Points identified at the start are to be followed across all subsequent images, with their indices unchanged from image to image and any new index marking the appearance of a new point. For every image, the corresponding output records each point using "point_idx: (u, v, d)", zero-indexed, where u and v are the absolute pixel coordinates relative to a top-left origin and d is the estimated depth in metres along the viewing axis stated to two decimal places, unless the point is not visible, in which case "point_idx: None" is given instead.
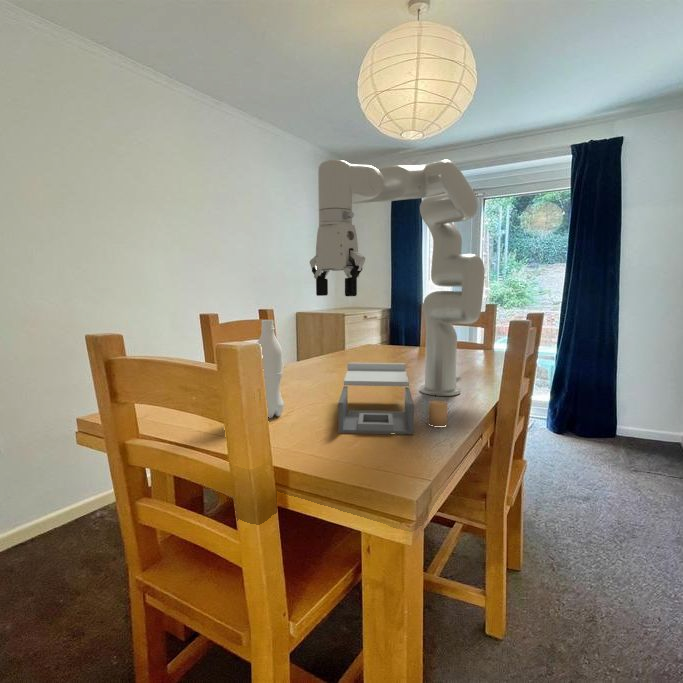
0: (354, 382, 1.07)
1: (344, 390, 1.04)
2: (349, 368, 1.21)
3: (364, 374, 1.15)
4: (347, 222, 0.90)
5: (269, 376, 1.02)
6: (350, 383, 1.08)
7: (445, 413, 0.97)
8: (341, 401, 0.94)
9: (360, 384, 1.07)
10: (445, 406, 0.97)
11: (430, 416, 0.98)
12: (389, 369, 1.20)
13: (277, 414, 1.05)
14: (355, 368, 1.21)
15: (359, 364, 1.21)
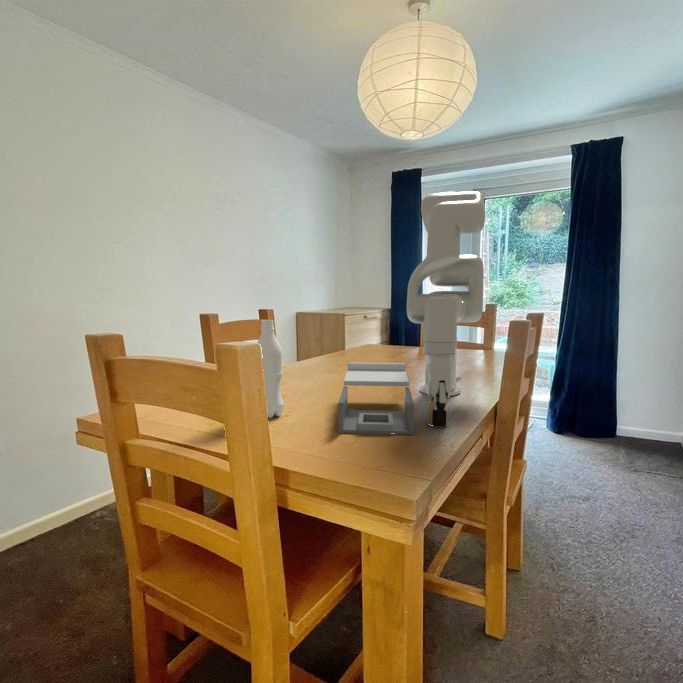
0: (354, 382, 1.07)
1: (344, 390, 1.04)
2: (349, 368, 1.21)
3: (364, 374, 1.15)
4: None
5: (269, 376, 1.02)
6: (350, 383, 1.08)
7: None
8: (341, 401, 0.94)
9: (360, 384, 1.07)
10: None
11: (430, 416, 0.98)
12: (389, 369, 1.20)
13: (277, 414, 1.05)
14: (355, 368, 1.21)
15: (359, 364, 1.21)
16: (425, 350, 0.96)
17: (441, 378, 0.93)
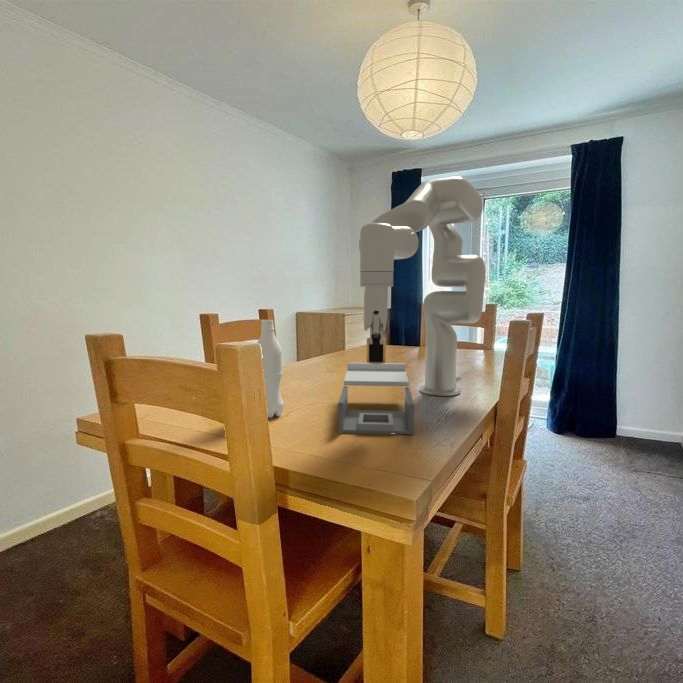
0: (354, 382, 1.07)
1: (344, 390, 1.04)
2: (349, 368, 1.21)
3: (364, 374, 1.15)
4: None
5: (269, 376, 1.02)
6: (350, 383, 1.08)
7: (383, 348, 0.93)
8: (341, 401, 0.94)
9: (360, 384, 1.07)
10: (382, 341, 0.93)
11: (367, 352, 0.94)
12: (389, 369, 1.20)
13: (277, 414, 1.05)
14: (355, 368, 1.21)
15: (359, 364, 1.21)
16: (361, 281, 0.92)
17: (375, 308, 0.88)
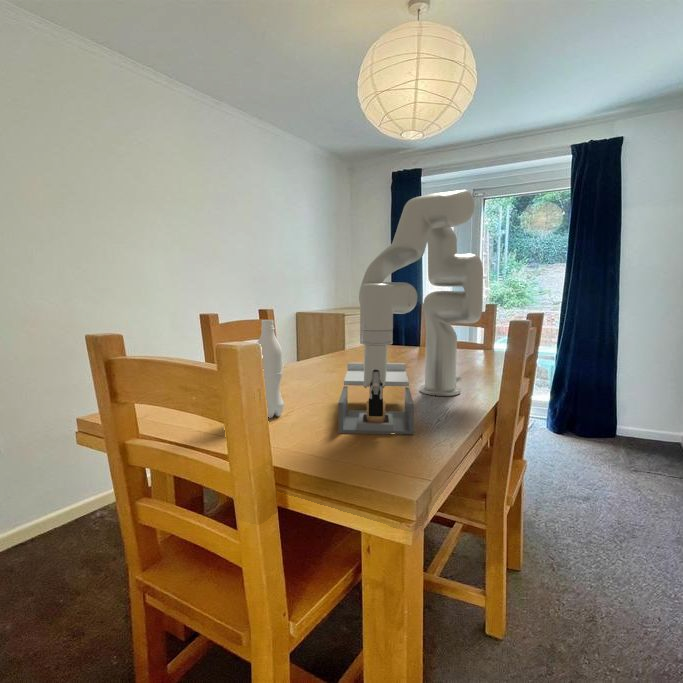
0: (354, 382, 1.07)
1: (344, 390, 1.04)
2: (349, 368, 1.21)
3: None
4: None
5: (269, 376, 1.02)
6: (350, 383, 1.08)
7: None
8: (341, 401, 0.94)
9: (360, 384, 1.07)
10: None
11: (367, 416, 0.96)
12: (389, 369, 1.20)
13: (277, 414, 1.05)
14: (355, 368, 1.21)
15: (359, 364, 1.21)
16: (361, 339, 0.93)
17: (375, 367, 0.90)
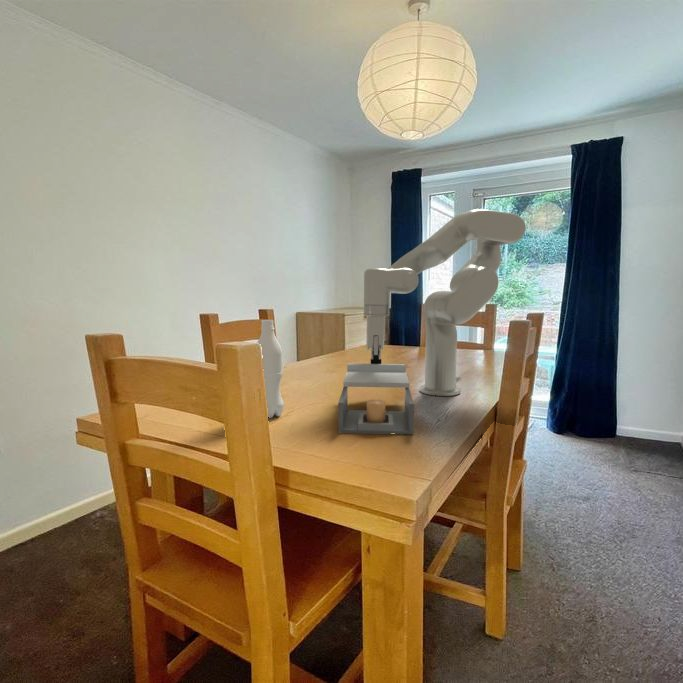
0: (354, 383, 1.06)
1: (344, 390, 1.04)
2: (349, 369, 1.20)
3: (364, 375, 1.14)
4: None
5: (269, 376, 1.02)
6: (350, 384, 1.06)
7: (383, 413, 0.95)
8: (341, 401, 0.94)
9: (360, 385, 1.06)
10: (382, 406, 0.95)
11: (368, 416, 0.96)
12: (389, 370, 1.19)
13: (277, 414, 1.05)
14: (355, 369, 1.20)
15: (359, 365, 1.19)
16: (364, 312, 1.19)
17: (375, 333, 1.16)
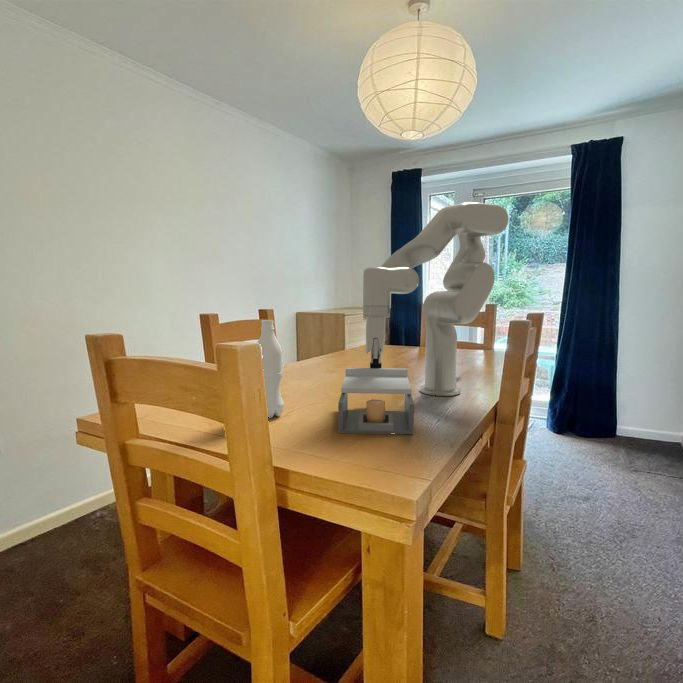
0: (352, 389, 1.00)
1: None
2: (347, 374, 1.14)
3: (363, 380, 1.08)
4: None
5: (269, 376, 1.02)
6: (348, 391, 1.00)
7: (382, 412, 0.95)
8: (341, 401, 0.94)
9: (359, 392, 1.00)
10: (382, 405, 0.95)
11: (368, 416, 0.96)
12: (390, 375, 1.13)
13: (277, 414, 1.05)
14: (354, 374, 1.13)
15: (358, 369, 1.13)
16: (363, 313, 1.13)
17: (375, 336, 1.10)
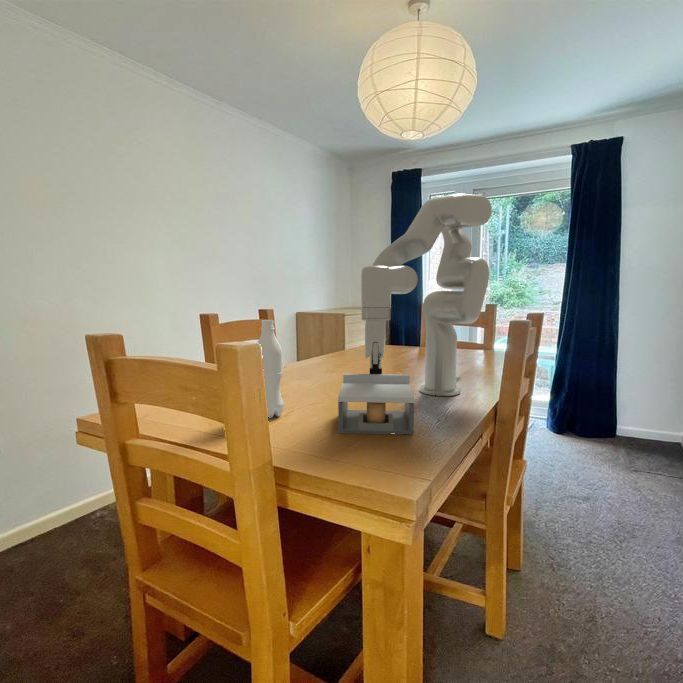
0: (350, 398, 0.92)
1: None
2: (345, 380, 1.06)
3: (362, 388, 1.00)
4: None
5: (269, 376, 1.02)
6: (346, 399, 0.93)
7: (383, 413, 0.95)
8: None
9: (357, 400, 0.92)
10: (383, 406, 0.95)
11: (368, 416, 0.96)
12: (391, 381, 1.05)
13: (277, 414, 1.05)
14: (352, 380, 1.06)
15: (356, 375, 1.06)
16: (362, 315, 1.05)
17: (374, 340, 1.02)
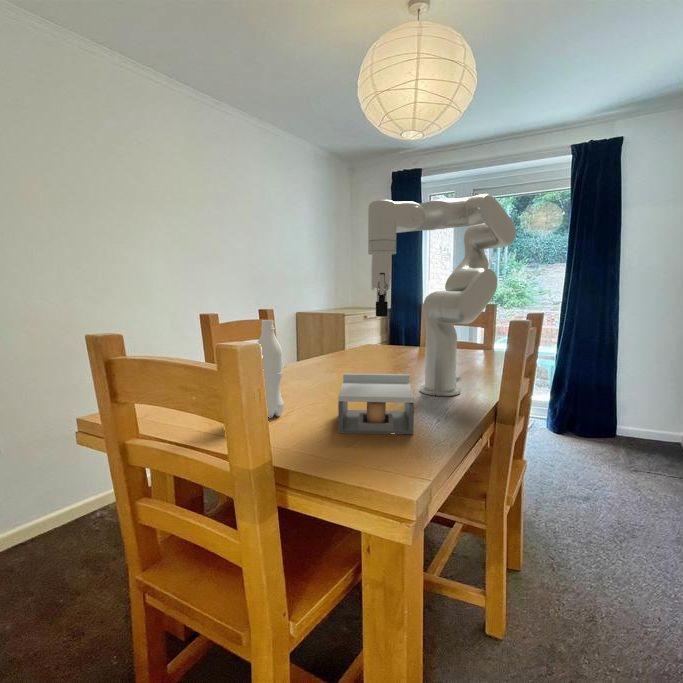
0: (350, 398, 0.93)
1: None
2: (345, 380, 1.06)
3: (362, 387, 1.00)
4: None
5: (269, 376, 1.02)
6: (346, 399, 0.93)
7: (383, 413, 0.95)
8: (341, 401, 0.94)
9: (357, 400, 0.93)
10: (383, 405, 0.95)
11: (368, 416, 0.96)
12: (391, 381, 1.05)
13: (277, 414, 1.05)
14: (352, 380, 1.06)
15: (356, 375, 1.06)
16: (369, 249, 1.10)
17: (381, 271, 1.06)
